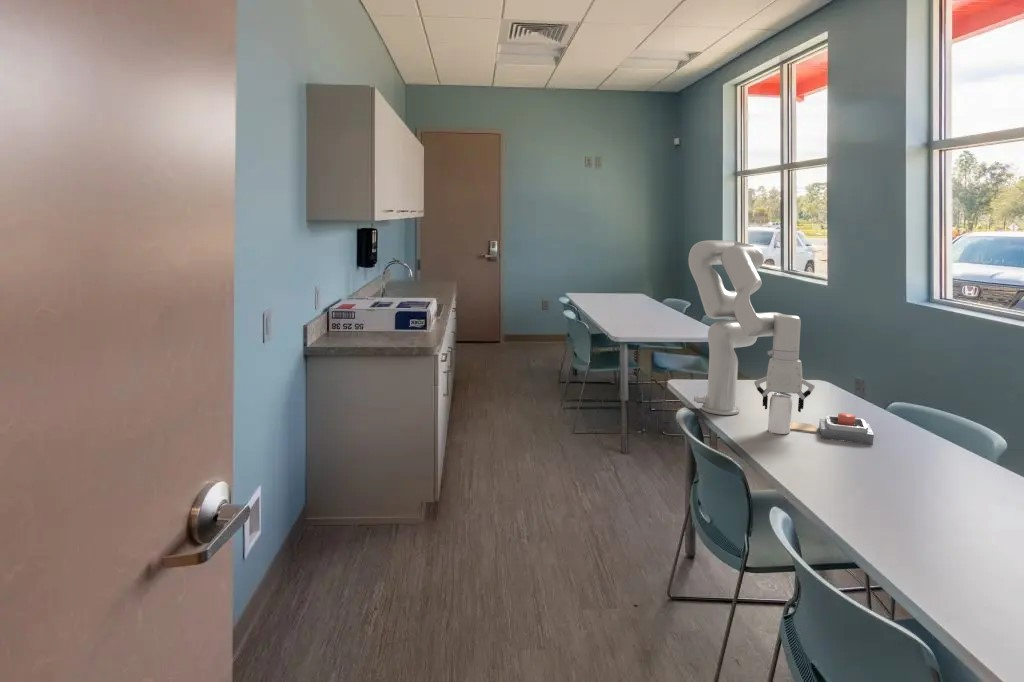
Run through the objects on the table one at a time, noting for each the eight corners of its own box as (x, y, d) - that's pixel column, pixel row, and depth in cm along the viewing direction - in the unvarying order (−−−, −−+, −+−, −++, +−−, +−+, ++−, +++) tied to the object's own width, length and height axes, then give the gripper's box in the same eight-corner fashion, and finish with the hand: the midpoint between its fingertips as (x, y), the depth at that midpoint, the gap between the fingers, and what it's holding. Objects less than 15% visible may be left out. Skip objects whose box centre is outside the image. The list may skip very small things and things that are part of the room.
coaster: (788, 430, 210) (789, 428, 210) (788, 423, 217) (788, 421, 217) (816, 433, 207) (816, 431, 207) (815, 426, 214) (815, 424, 214)
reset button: (837, 425, 203) (838, 416, 202) (836, 421, 207) (837, 412, 207) (855, 427, 201) (856, 418, 201) (853, 423, 206) (854, 414, 205)
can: (786, 429, 211) (789, 392, 209) (792, 435, 205) (795, 397, 203) (765, 428, 212) (768, 391, 210) (770, 434, 205) (773, 396, 203)
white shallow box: (821, 438, 202) (822, 424, 201) (818, 427, 213) (820, 414, 212) (872, 444, 197) (874, 429, 196) (868, 432, 208) (869, 419, 207)
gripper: (755, 355, 203) (752, 410, 206) (817, 359, 197) (813, 415, 200) (756, 352, 210) (753, 404, 213) (815, 355, 204) (812, 409, 206)
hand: (782, 409), depth 206 cm, fingers open, 9 cm apart
